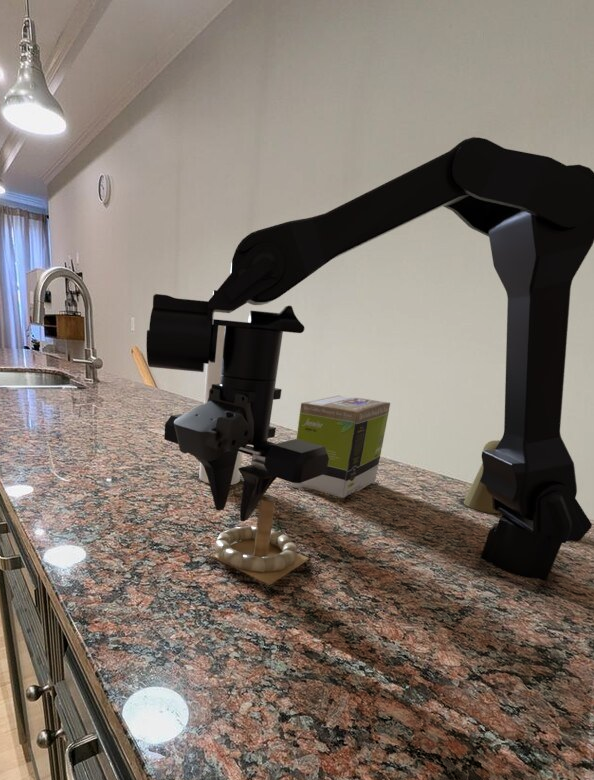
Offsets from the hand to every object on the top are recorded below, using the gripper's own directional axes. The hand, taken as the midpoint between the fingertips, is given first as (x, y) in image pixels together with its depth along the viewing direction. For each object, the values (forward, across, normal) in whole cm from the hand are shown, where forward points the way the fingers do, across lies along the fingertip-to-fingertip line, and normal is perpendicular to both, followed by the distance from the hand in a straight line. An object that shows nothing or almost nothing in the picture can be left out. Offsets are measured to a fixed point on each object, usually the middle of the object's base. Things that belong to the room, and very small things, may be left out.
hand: (231, 515), depth 52 cm
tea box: (+5, -4, +34) cm, 35 cm away
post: (+4, +5, 0) cm, 6 cm away
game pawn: (+4, +18, +45) cm, 49 cm away
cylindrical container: (+5, -18, +20) cm, 28 cm away
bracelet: (+3, +4, 0) cm, 5 cm away
